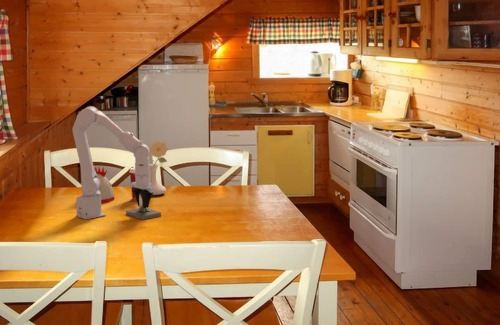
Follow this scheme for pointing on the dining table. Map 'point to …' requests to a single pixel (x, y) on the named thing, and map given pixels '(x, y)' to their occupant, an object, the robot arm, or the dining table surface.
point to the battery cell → (141, 205)
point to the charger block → (143, 213)
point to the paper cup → (132, 176)
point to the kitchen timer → (105, 187)
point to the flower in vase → (157, 151)
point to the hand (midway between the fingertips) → (143, 207)
